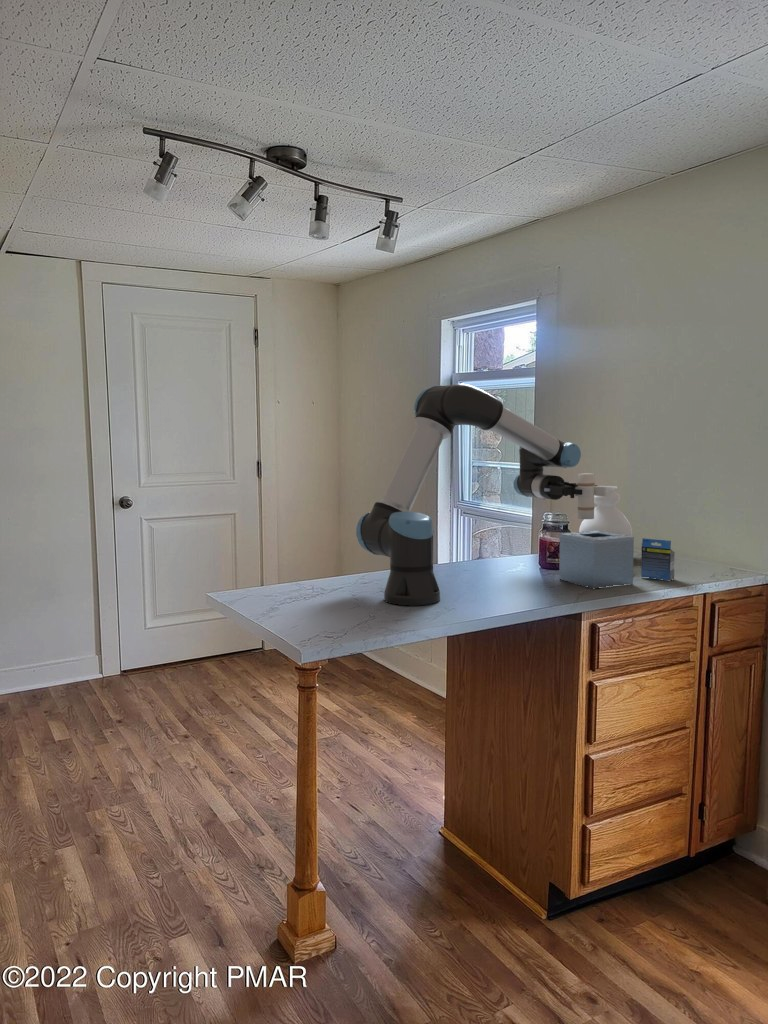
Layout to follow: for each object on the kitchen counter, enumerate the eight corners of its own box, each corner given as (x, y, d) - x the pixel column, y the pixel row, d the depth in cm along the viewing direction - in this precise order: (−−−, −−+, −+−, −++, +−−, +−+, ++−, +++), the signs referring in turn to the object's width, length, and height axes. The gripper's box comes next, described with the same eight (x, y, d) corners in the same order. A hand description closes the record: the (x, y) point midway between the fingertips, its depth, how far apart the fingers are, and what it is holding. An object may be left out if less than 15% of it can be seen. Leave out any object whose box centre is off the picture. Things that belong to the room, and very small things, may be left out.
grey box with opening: (593, 589, 208) (594, 540, 207) (559, 579, 223) (559, 533, 221) (632, 584, 213) (633, 536, 212) (596, 575, 228) (597, 530, 227)
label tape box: (674, 579, 220) (675, 538, 218) (670, 581, 216) (671, 540, 215) (645, 576, 225) (646, 536, 224) (640, 578, 222) (641, 538, 221)
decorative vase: (625, 553, 267) (626, 484, 264) (637, 561, 249) (638, 488, 247) (575, 553, 269) (575, 485, 266) (583, 562, 251) (584, 488, 248)
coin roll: (584, 519, 212) (584, 474, 211) (574, 518, 216) (574, 473, 215) (597, 518, 214) (598, 473, 212) (587, 516, 218) (587, 473, 217)
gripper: (572, 497, 235) (622, 503, 213) (525, 500, 228) (573, 507, 206) (572, 473, 234) (623, 477, 212) (525, 476, 227) (573, 480, 206)
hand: (598, 492), depth 209 cm, fingers closed on coin roll, 4 cm apart
